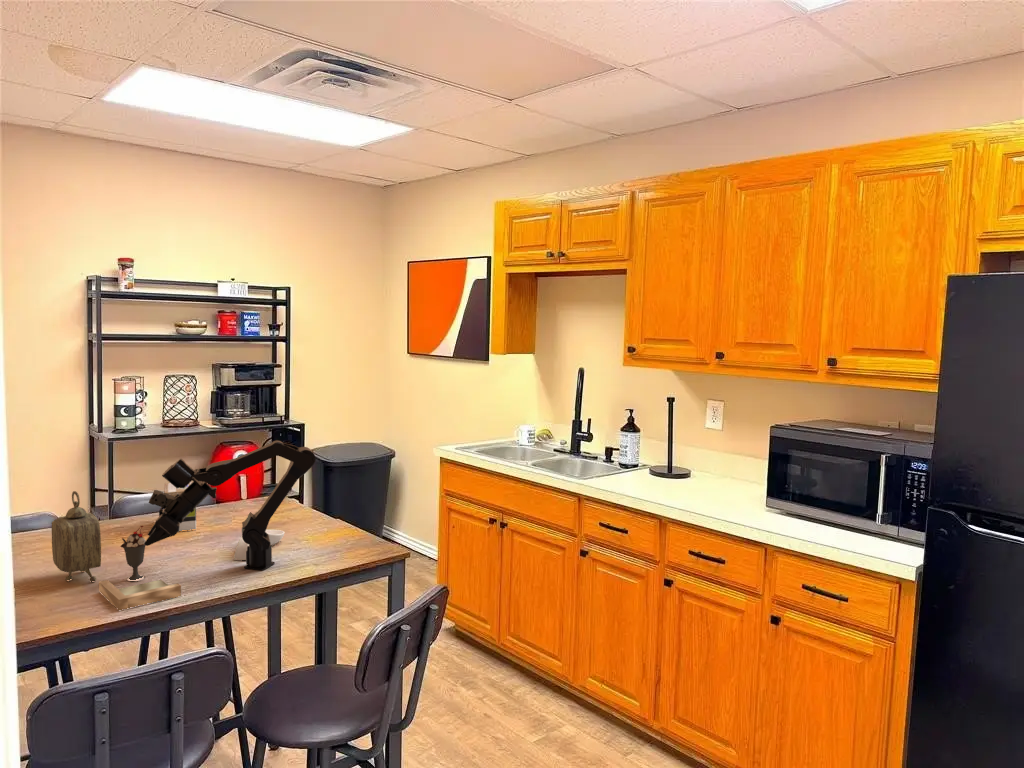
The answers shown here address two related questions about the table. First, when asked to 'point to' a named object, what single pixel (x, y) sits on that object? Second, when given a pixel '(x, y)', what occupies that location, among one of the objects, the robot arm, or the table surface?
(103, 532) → the table surface
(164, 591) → the corner tray
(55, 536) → the tabletop clock
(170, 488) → the tea box
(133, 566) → the sundae
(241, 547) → the spoon rest
